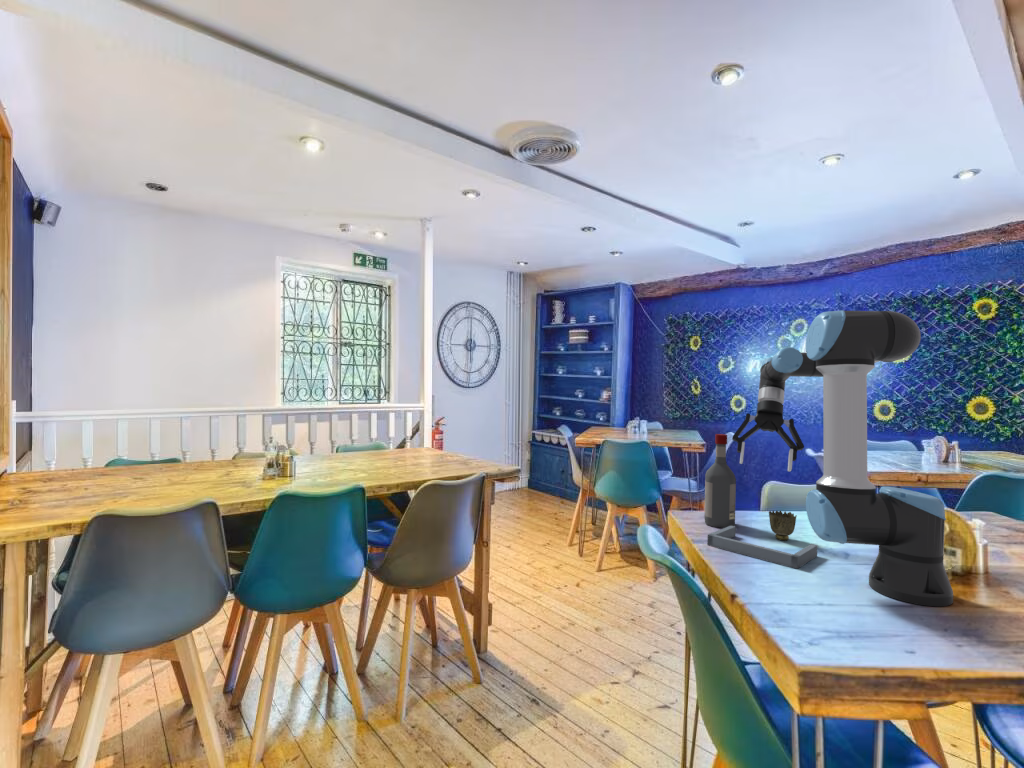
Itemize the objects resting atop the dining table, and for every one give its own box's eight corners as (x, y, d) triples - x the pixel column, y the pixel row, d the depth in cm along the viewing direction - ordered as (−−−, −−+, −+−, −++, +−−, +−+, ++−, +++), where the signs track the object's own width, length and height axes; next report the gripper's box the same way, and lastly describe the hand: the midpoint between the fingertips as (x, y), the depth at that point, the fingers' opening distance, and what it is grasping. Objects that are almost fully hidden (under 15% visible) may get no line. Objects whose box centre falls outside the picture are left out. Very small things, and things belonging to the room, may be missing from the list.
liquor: (705, 526, 166) (707, 435, 166) (704, 519, 175) (706, 432, 174) (735, 529, 163) (737, 436, 163) (732, 522, 172) (734, 434, 171)
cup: (800, 544, 149) (800, 517, 149) (773, 542, 150) (773, 515, 150) (790, 536, 156) (790, 510, 156) (764, 534, 158) (765, 509, 158)
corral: (817, 556, 139) (817, 545, 139) (797, 568, 129) (797, 557, 129) (730, 535, 157) (730, 525, 157) (707, 544, 147) (707, 534, 147)
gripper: (811, 412, 163) (808, 476, 156) (728, 402, 172) (721, 462, 165) (817, 404, 156) (813, 470, 149) (729, 394, 165) (722, 456, 158)
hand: (765, 466), depth 157 cm, fingers open, 13 cm apart
